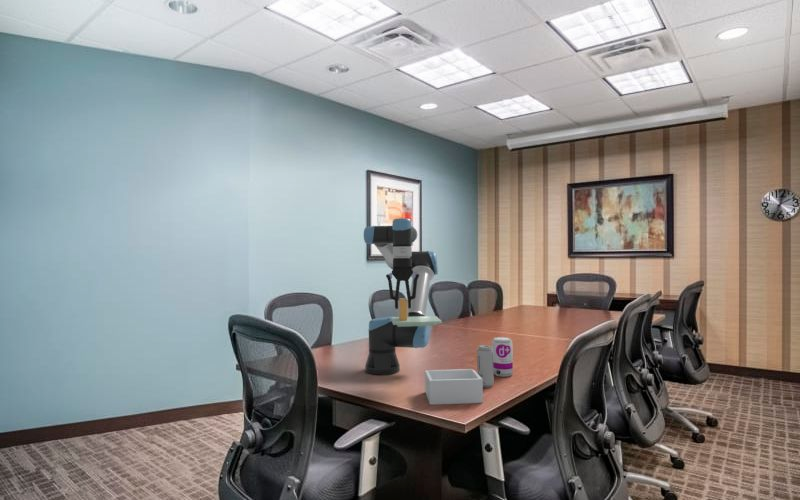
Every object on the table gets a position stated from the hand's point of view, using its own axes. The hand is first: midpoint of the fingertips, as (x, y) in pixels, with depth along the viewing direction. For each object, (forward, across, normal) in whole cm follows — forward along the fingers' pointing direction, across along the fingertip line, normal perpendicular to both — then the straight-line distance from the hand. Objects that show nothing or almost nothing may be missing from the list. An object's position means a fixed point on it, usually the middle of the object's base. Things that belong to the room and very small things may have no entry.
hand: (403, 316), depth 179 cm
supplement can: (+26, +42, +8) cm, 50 cm away
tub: (+26, +16, -20) cm, 36 cm away
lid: (+3, +5, 0) cm, 6 cm away
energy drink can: (+26, +31, -7) cm, 41 cm away
